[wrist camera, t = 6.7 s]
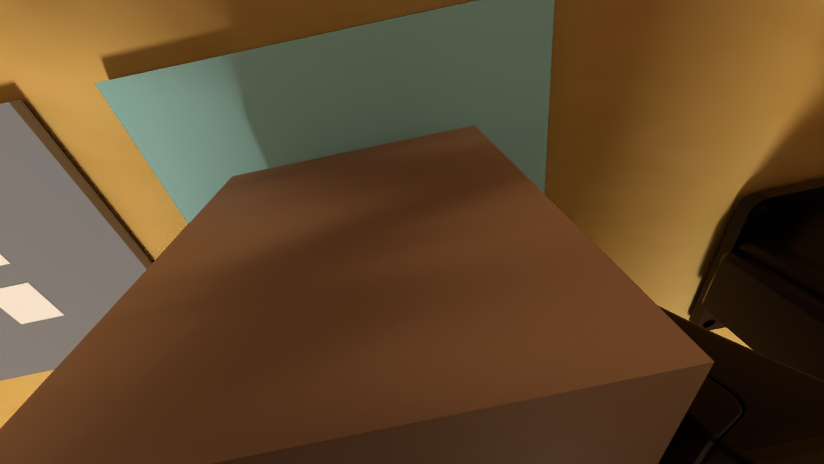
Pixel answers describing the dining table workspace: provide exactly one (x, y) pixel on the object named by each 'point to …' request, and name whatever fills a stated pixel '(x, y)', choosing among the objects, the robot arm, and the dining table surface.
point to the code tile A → (53, 249)
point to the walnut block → (372, 330)
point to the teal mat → (346, 96)
